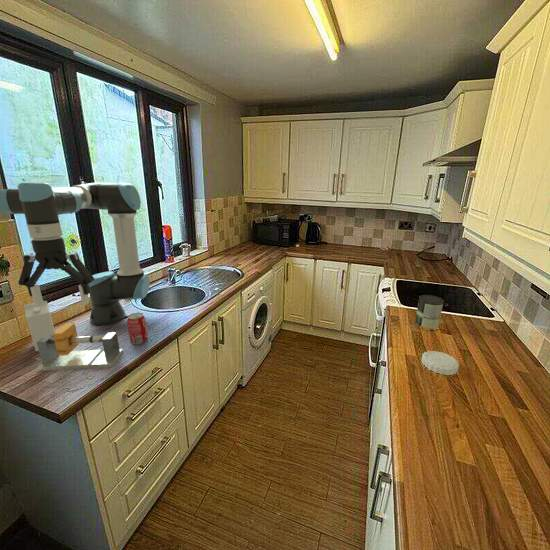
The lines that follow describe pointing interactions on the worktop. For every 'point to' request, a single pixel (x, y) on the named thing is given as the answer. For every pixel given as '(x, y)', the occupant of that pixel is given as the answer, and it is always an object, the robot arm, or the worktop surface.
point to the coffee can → (429, 311)
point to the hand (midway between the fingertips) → (63, 304)
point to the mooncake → (440, 362)
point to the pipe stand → (79, 353)
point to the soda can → (137, 328)
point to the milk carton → (39, 321)
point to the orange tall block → (65, 339)
